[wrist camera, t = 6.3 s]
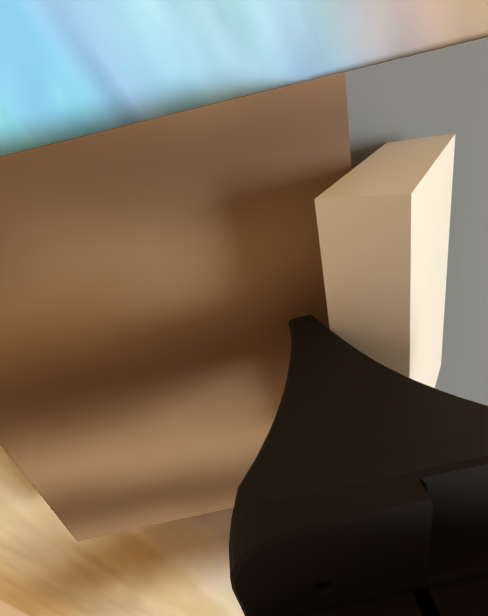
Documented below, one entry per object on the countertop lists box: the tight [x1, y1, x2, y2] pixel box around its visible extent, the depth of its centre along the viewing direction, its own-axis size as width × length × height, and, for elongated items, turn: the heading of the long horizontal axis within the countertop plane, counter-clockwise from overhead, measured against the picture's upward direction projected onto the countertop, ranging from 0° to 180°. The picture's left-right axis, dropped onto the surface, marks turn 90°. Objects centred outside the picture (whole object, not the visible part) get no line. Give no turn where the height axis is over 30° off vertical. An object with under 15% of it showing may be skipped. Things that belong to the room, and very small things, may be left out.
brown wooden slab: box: [0, 72, 351, 541], centre depth 14 cm, size 16×14×3 cm
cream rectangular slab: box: [314, 134, 455, 388], centre depth 12 cm, size 9×6×2 cm
